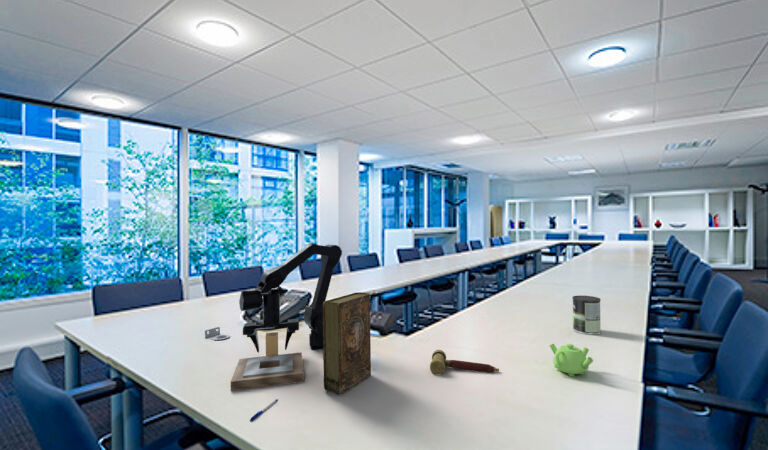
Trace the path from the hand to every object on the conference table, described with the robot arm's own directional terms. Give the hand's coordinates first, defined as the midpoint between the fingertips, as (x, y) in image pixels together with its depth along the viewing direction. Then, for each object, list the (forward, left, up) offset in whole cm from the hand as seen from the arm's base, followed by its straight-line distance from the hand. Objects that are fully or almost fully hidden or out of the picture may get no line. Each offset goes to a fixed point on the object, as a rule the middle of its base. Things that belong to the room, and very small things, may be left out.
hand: (272, 350), depth 125 cm
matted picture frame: (0, +15, -2) cm, 15 cm away
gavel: (-59, +30, -3) cm, 66 cm away
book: (-23, +29, -2) cm, 37 cm away
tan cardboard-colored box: (0, 0, -2) cm, 2 cm away
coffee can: (-127, +9, -2) cm, 127 cm away
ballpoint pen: (0, +38, -2) cm, 38 cm away
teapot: (-90, +41, -2) cm, 99 cm away
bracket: (+23, -31, -3) cm, 39 cm away
